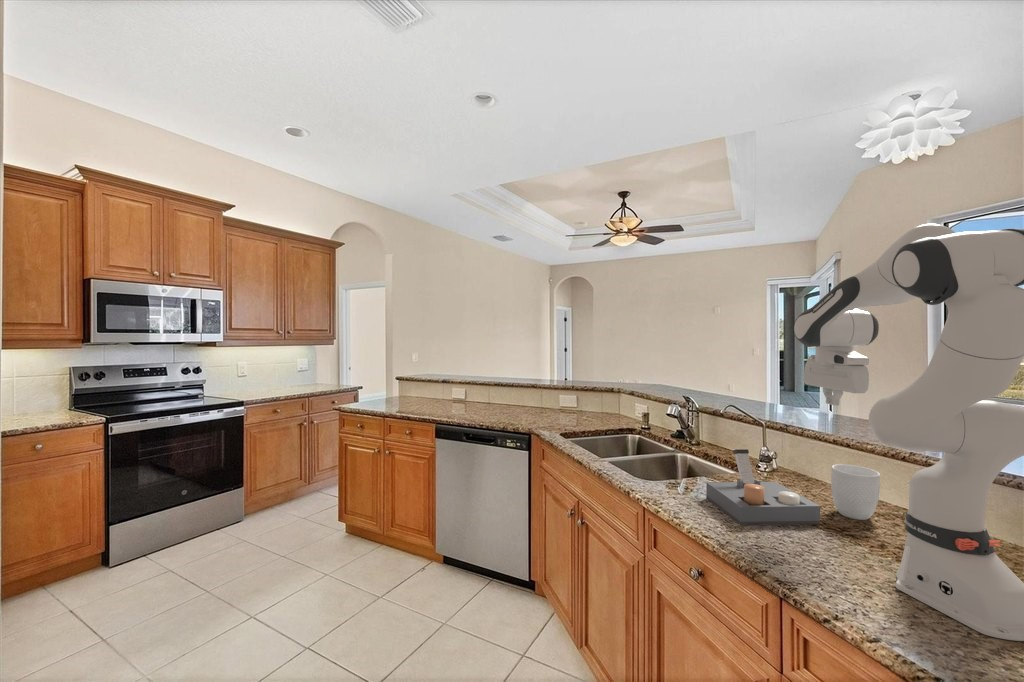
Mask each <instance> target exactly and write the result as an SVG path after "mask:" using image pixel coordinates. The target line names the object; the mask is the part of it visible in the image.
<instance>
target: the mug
mask: <svg viewBox="0 0 1024 682" xmlns="http://www.w3.org/2000/svg"><path fill="white" fill-rule="evenodd" d="M830 471H831V473H830V489H831V490H830V492H831V497H832V500H833V501H832V502H833V504H834V506H835V508H836V510H837V511H838V513H839V514H840V515H842V516H844V517H846V518H848V519H853V520H858V521H867V520H868V519H870V518H871V517H872V516H873V515H874V513H875V511H876V509H877V507H878V503H879V499H880V490H881V489H880V488H881V474H880V472H879V471H877V470H875V469H872V468H870V467H865V466H861V465H855V464H845V463H841V464H840V463H837V464H833V465H831V470H830Z"/></svg>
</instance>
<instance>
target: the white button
mask: <svg viewBox="0 0 1024 682" xmlns="http://www.w3.org/2000/svg"><path fill="white" fill-rule="evenodd" d="M796 493H797V492H795V493H792V492H787V491H781V492H779V496H778V501H780V502H781V503H783V504H785V505H799V504H800V496H799V495H800V494H799V493H797V494H796ZM798 494H799V495H798Z"/></svg>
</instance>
